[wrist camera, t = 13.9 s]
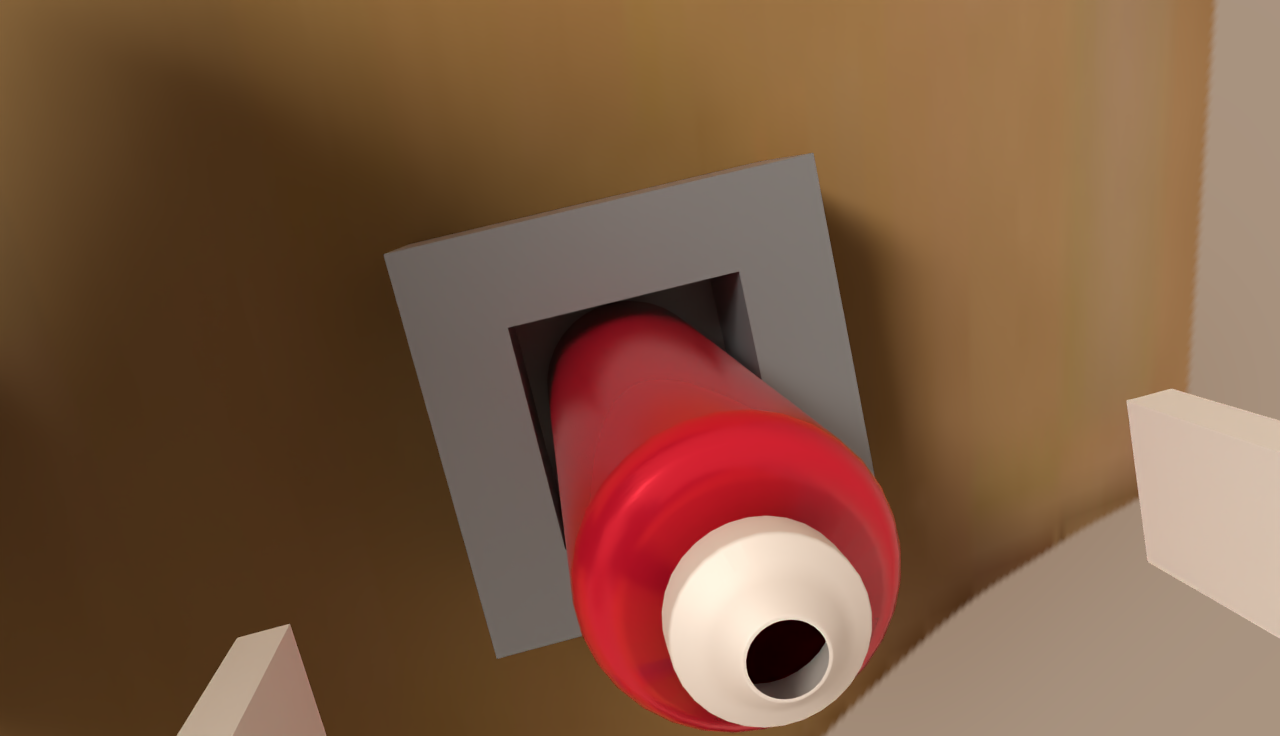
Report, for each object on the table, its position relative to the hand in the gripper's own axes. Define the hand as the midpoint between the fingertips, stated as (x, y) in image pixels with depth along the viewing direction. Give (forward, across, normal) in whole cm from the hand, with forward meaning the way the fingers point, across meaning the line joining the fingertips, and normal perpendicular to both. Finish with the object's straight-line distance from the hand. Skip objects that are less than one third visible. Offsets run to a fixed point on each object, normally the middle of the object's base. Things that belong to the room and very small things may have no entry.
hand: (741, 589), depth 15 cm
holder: (+19, 0, 0) cm, 19 cm away
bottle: (+18, 0, 0) cm, 18 cm away
